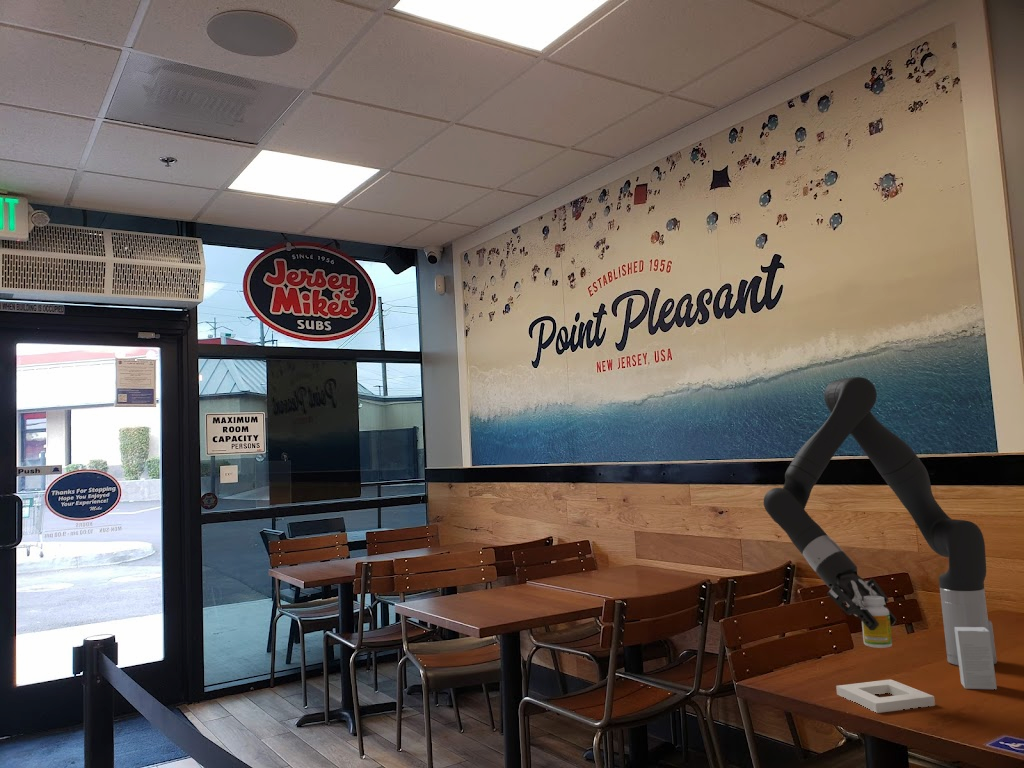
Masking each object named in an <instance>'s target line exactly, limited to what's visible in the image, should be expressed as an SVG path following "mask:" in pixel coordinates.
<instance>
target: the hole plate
mask: <svg viewBox="0 0 1024 768" xmlns="http://www.w3.org/2000/svg"><path fill="white" fill-rule="evenodd" d="M835 688H836V695H837V696H840V697H841V698H843V697H844V699H845V698H846V699H845V700H848V701H850V700H851V701H850V702H852V701H853V702H852V703H854V702H856V703H858V704H860V705H862V706H861V707H863V706H864V707H863V708H865V707H866V708H865V709H867V708H868V709H867V710H869V709H870V711H871V712H873V711H874V712H873V713H875V712H876V714H881V713H887V712H888V713H889V712H897V711H904V710H903V709H905V710H911V709H910V708H913V709H918V707H921V708H926V707H928V706H929V707H934V706H936V701H935V696H934V695H932V694H929V693H927V692H925V691H922V690H919V689H916V688H914V687H911V686H909V685H906V684H904V683H901V682H899V681H896V680H893V679H891V678H890V679H881V680H875V681H865V682H857V683H848V684H842V685H841V684H839V685H835ZM885 693H888V694H889V693H890V694H889V695H890V696H880V697H879V696H877V695H875V694H879V695H884V694H885ZM891 694H892V695H891ZM885 695H886V694H885ZM856 703H855V704H856ZM858 704H857V705H858ZM860 705H859V706H860Z"/></svg>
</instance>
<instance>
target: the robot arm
mask: <svg viewBox="0 0 1024 768" xmlns="http://www.w3.org/2000/svg"><path fill="white" fill-rule="evenodd" d="M823 397H824V403H825V406H826V407H827V409H828V411H829V412H830V415H829V416H828V417H827V420H825V422H824V423H822V425H821V426H820V427H819V429H818V430H817V431H816V432H815V433H814V434H813V435H811V437H810V438H809V439H807V440H806V441H805V443H804V444H803V445H802V446H801V447H800V448H799V450H798V451H797V453H796V454H795V456H794V458H793V459H792V460H791V462H790V464H789V466H788V467H787V469H786V471H785V473H784V480H785V481H784V484H783V486H782V487H774V488H771V489H769V490H768V491H767V492H766V493H765V495H764V498H763V506H764V507H763V508H764V509H765V511H766V512H767V514H768V515H769V517H770V518H771V519H772V520H773V521H774V522H775V523H776V524H778V525H779V527H780V528H781V530H783V531H784V533H786V535H787V536H788V538H789V539H790V541H791V542H792V543H793V546H795V548H796V549H797V550H798V551H799V552H800V553H801V555H802V556H803V557H804V559H805V561H806V562H807V563H808V564H809V566H810V567H811V569H812V570H813V571H814V572H815V573H816V574H817V576H818V577H819V578H820V579H821V580H822V581H823V583H824V584H825V585H826V586H827V588H828V589H829V591H828V592H827V596H828V597H829V598H830V599H831V600H832V601H833V602H834V603H835V604H836V605H837V606H838V607H839V608H840V609H841V610H842V611H844V613H845V614H846V615H848V616H851V615H854V616H855V617H858V618H859V619H860V620H861V623H862V622H863V623H864V624H865V625H866V626H867V627H868V628H869V629H870V630H875V629H876V628H877V627H878V625H879V623H878V622H877V621H876V620H875V618H874V617H873V616H872V615H871V614H870V613H869V611H868V610H867V609H866V610H864V609H865V604H864V602H863V597H864V596H882V597H884V601H885V604H884V607H885V608H887V609H888V610H889V614H890V625H891V626H894V625H895V623H896V622H897V621H898V618H897V617H896V616H895V615H894V614H893V613H892V611H891V610H890V609H889V608H888V607H887V606H886V604H887V603H888V602H890V601H889V600H890V599H889V598H888V597H887V595H886V594H885V592H884V590H882V588H881V587H880V585H879V584H878V582H876V580H875V579H874V578H870V579H869V580H865V579H863V578H862V577H861V576H859V574H858V566H857V565H856V563H854V561H852V559H851V558H850V556H848V554H846V552H845V551H844V550H843V549H842V548H841V546H840V545H839V544H837V542H835V541H834V540H833V539H832V538H831V537H830V536H829V535H828V534H827V533H826V532H825V530H824V529H823V528H822V527H821V526H820V525H819V524H818V523H817V522H816V521H815V520H814V519H813V518H812V517H811V516H810V515H809V513H808V512H807V511H806V510H805V509H806V506H807V503H808V501H809V498H810V496H811V493H812V490H813V488H814V486H816V483H817V482H818V480H819V479H820V478H821V476H822V474H823V473H824V471H825V469H826V468H827V466H828V464H829V463H830V461H831V460H832V459H833V457H834V456H835V454H836V452H837V451H838V449H840V448H841V446H842V444H843V443H844V441H846V439H848V437H849V436H850V435H851V436H852V437H853V439H854V440H855V441H856V443H857V444H858V445H859V446H860V448H861V450H862V451H863V452H864V454H865V455H866V457H867V458H868V460H870V462H871V463H872V464H873V466H874V467H875V469H876V470H877V472H878V473H879V475H881V477H882V479H883V480H884V481H885V483H886V484H887V485H888V486H889V488H890V489H891V490H892V492H893V493H894V494H895V496H896V497H897V498H898V500H899V501H900V503H901V504H902V505H903V506H904V508H905V509H906V510H907V512H908V513H909V514H910V516H911V517H912V519H913V521H914V522H915V524H916V526H917V527H918V529H919V531H920V533H921V535H922V536H923V538H924V540H925V541H926V543H927V544H928V546H929V547H930V549H931V550H933V552H934V553H936V554H937V555H939V556H942V557H945V558H948V569H947V571H946V572H943V573H942V574H940V575H939V577H938V583H939V584H938V586H939V593H940V602H941V611H942V621H943V631H944V637H945V638H944V641H945V649H946V656H947V657H946V659H947V662H948V664H952V665H954V666H959V662H958V654H957V646H956V638H955V630H954V627H985V628H986V629H987V630H988V631H990V639H991V647H992V654H993V662H994V665H995V664H997V662H998V660H997V653H996V645H995V637H994V629H993V622H992V621H991V620H989V618H988V617H989V616H988V609H987V602H986V601H987V600H986V593H985V579H986V576H987V560H986V544H985V539H984V535H983V532H982V530H981V528H980V527H979V526H978V525H977V524H976V523H974V522H972V521H971V520H964V519H954V518H951V517H949V515H947V514H946V512H945V511H944V510H943V508H942V507H941V506H940V504H939V503H938V502H937V501H936V499H935V497H934V495H933V491H932V485H931V479H930V476H929V472H928V470H927V468H926V466H925V465H924V464H923V462H922V460H921V459H920V458H919V456H918V455H917V454H916V453H915V451H914V450H913V449H912V448H911V447H910V445H909V444H907V443H906V442H905V441H904V440H903V439H901V437H899V436H898V435H896V434H895V433H893V432H892V431H891V430H890V429H888V428H886V426H884V425H883V424H882V423H881V422H880V421H879V420H878V419H877V418H876V416H874V414H873V413H872V412H871V410H872V409H873V407H874V406H875V405H876V401H877V397H878V393H877V389H876V386H875V385H874V383H872V381H870V380H869V379H868V378H866V377H862V376H854V377H853V376H851V377H847V378H846V377H844V378H839V379H836V380H834V381H832V382H830V383H828V384H827V386H826V388H825V389H824V393H823ZM845 603H846V604H845Z"/></svg>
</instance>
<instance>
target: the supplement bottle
mask: <svg viewBox="0 0 1024 768" xmlns="http://www.w3.org/2000/svg"><path fill="white" fill-rule="evenodd" d="M863 602H864V604H863V605H864V607H865V609H864V610H866V609H867V610H868V611H869V613H870V614H871V615H872V616H873V617H874V618H875V620H876V621H877V622H878V623H879V625H878V627H877V628H876V629H875V630H870V629H869V628H868V627H867V626H866V625H865V624H864V623H863V622H862V621H861V627H862V628H861V630H862V640H863V644H864V645H865V646H867V647H871V648H875V649H877V648H879V649H883V648H885V649H886V648H890V647H892V645H893V639H892V638H893V636H892V627H891V625H890V614H889V610H890V609H889V608H888V607H887V608H888V609H889V610H888V609H887V608H885V607H884V604H885V601H884V597H882V596H880V595H879V596H870V595H868V596H864V597H863ZM885 605H886V604H885Z"/></svg>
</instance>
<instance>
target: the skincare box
mask: <svg viewBox="0 0 1024 768" xmlns="http://www.w3.org/2000/svg"><path fill="white" fill-rule="evenodd" d="M954 630H955V638H956V646H957V654H958V662H959V665H958V668H959V676H960V677H959V678H960V683H961V685H962V686H963V688H964V689H966V690H994V689H995V690H998V687H997V679H996V672H995V664H994V662H993V654H992V647H991V639H990V631H988V630H987V629H986V628H985V627H954ZM995 690H994V691H995Z"/></svg>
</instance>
